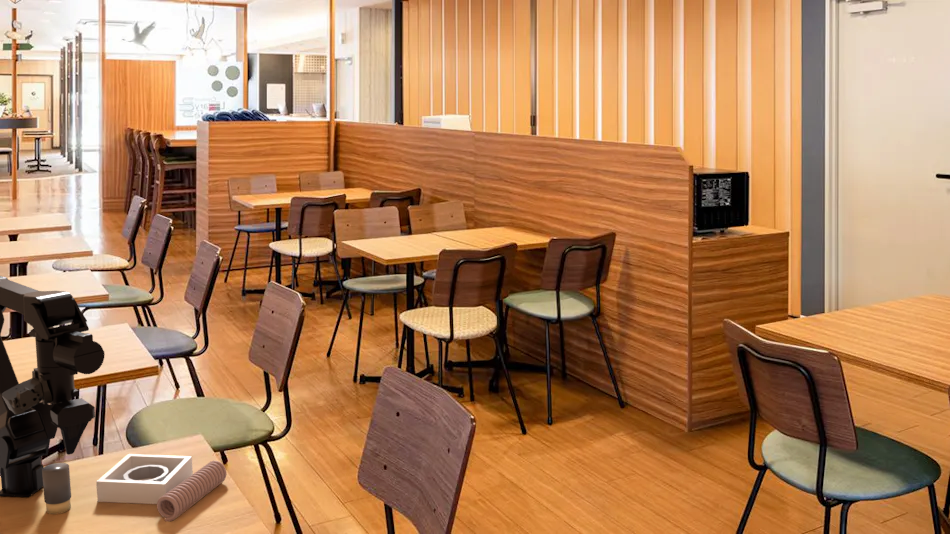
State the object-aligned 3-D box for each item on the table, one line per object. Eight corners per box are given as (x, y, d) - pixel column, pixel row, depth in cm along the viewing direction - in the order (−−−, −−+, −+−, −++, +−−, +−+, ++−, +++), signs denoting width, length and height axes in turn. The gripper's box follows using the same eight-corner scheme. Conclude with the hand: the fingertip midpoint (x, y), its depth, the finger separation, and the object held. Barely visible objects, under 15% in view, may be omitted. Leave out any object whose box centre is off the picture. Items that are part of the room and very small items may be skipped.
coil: (177, 501, 150) (230, 461, 167) (153, 495, 151) (208, 456, 168) (176, 525, 151) (228, 483, 168) (152, 519, 152) (207, 478, 169)
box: (97, 501, 158) (96, 481, 157) (129, 472, 171) (128, 453, 170) (165, 504, 157) (164, 484, 157) (192, 475, 170) (191, 456, 169)
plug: (40, 514, 153) (36, 472, 151) (53, 503, 157) (50, 462, 156) (64, 515, 153) (60, 473, 151) (76, 504, 157) (73, 463, 156)
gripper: (-12, 359, 151) (-6, 442, 154) (24, 385, 138) (30, 475, 141) (54, 348, 159) (59, 427, 162) (93, 372, 146) (98, 457, 149)
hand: (60, 446), depth 153 cm, fingers open, 9 cm apart
